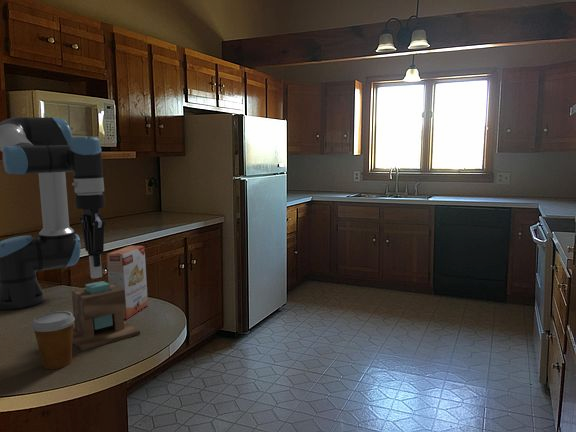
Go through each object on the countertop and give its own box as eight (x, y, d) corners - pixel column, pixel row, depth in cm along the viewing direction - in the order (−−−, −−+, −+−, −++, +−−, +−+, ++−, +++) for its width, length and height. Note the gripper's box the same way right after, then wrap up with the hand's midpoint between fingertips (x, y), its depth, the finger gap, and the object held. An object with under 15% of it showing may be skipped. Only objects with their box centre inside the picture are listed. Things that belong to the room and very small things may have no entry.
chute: (63, 334, 136) (59, 290, 135) (118, 320, 147) (115, 279, 145) (81, 350, 124) (77, 302, 123) (140, 334, 135) (137, 289, 133)
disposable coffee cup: (76, 368, 114) (71, 320, 112) (31, 375, 111) (26, 325, 110) (81, 353, 123) (77, 308, 121) (40, 358, 120) (35, 313, 119)
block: (88, 325, 136) (85, 284, 134) (106, 320, 139) (103, 280, 137) (95, 329, 132) (91, 287, 130) (112, 325, 135) (109, 284, 133)
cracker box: (127, 320, 147) (122, 253, 144) (110, 319, 148) (104, 253, 146) (149, 305, 161) (145, 245, 158) (133, 305, 162) (128, 244, 159)
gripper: (68, 193, 133) (75, 275, 136) (83, 196, 123) (90, 284, 126) (95, 191, 138) (101, 270, 141) (112, 193, 128) (118, 279, 131)
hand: (96, 277), depth 134 cm, fingers closed
